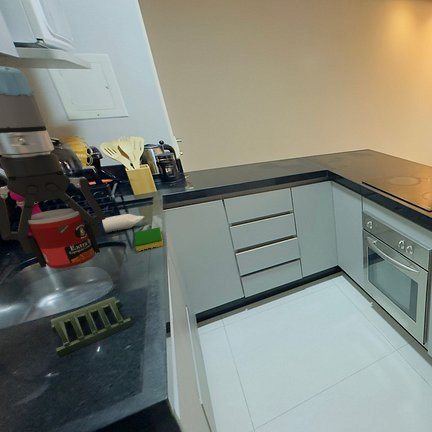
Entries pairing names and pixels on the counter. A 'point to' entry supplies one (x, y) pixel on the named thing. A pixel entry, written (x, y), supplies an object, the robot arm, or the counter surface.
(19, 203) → the pepper mill
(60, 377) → the counter surface
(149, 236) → the dish sponge
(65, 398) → the counter surface
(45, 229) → the canned food
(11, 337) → the counter surface
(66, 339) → the drying rack
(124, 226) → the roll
